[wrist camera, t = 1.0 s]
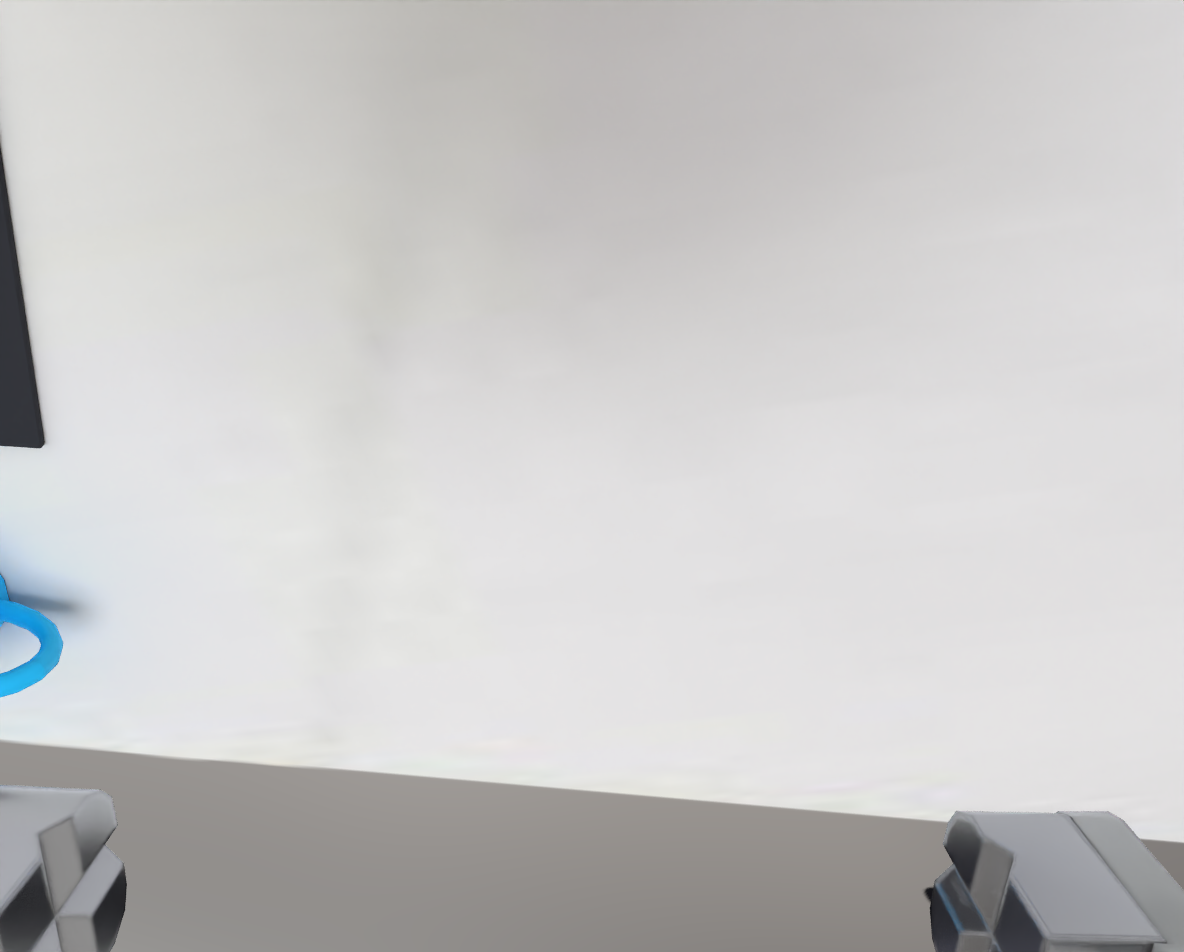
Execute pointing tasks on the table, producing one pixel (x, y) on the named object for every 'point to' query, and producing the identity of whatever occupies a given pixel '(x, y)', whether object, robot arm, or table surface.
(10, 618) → the mug
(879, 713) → the table surface
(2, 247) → the mat
